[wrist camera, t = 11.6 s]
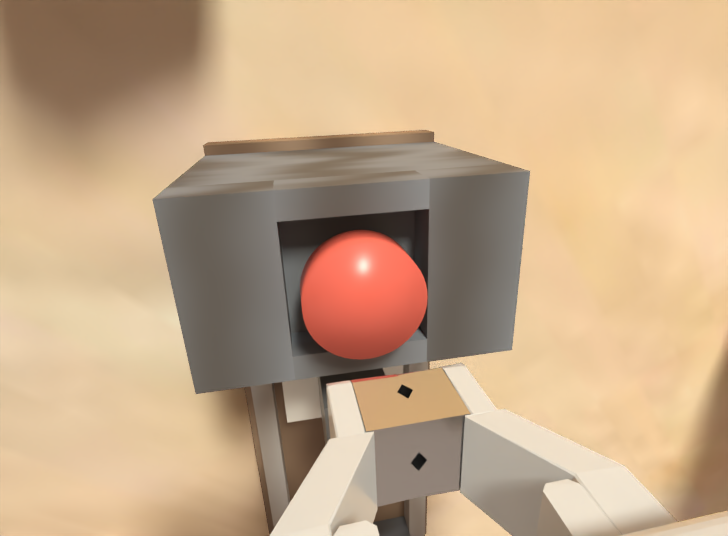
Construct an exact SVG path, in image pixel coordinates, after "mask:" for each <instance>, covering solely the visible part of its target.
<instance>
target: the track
mask: <svg viewBox="0 0 728 536" xmlns="http://www.w3.org/2000/svg"><path fill="white" fill-rule="evenodd" d="M203 147H204V153H205V156H204V157H203V158H202V159H201V160H199V161H198V162H197V163H196V164H195V165H193V166H192V167H191V168H190V169H189V170H187V171H186V172H185V173H184V174H182V175H181V176H180V177H179V178H178V179H176V180H175V181H174V182H173V183H172V184H170V185H169V186H168V187H167V188H166V189H164V190H163V191H162V192H161V193H160V194H158V195H157V196H156V197H155V198H154V199H153V204H154V208H155V213H156V217H157V222H158V226H159V231H160V235H161V240H162V244H163V249H164V253H165V258H166V262H167V267H168V271H169V276H170V280H171V285H172V289H173V294H174V298H175V303H176V307H177V312H178V316H179V321H180V325H181V329H182V334H183V338H184V343H185V347H186V352H187V356H188V361H189V365H190V370H191V374H192V379H193V383H194V388H195V392H196V394H199V393H206V392H214V391H221V390H228V389H235V388H242V387H245V393H246V399H247V405H248V411H249V416H250V422H251V428H252V434H253V440H254V446H255V452H256V457H257V463H258V469H259V475H260V481H261V487H262V493H263V498H264V504H265V510H266V516H267V522H268V528H269V533H270V534H271V533H272V531H273V529H274V528H275V526H276V524H277V523H278V521H279V520H280V518H281V516H282V515H283V513H284V511H285V510H286V508H287V507H288V505H289V503H290V502H291V500H292V498H293V497H294V495H295V494H296V492H297V490H298V489H299V487H300V486H301V484H302V482H303V481H304V479H305V477H306V476H307V474H308V473H309V471H310V469H311V468H312V466H313V464H314V463H315V461H316V460H317V458H318V456H319V455H320V453H321V451H322V450H323V448H324V447H325V438H324V431H323V423H322V417H321V418H315V419H308V420H301V421H295V422H288V423H287V416H286V409H285V401H284V394H283V386H282V382H285V381H292V380H300V379H307V378H314V377H321V376H328V375H336V374H343V373H350V372H357V371H364V370H371V369H379V368H386V367H393V366H400V365H403V374H404V373H410V372H416V371H422V370H429V362H430V361H436V360H443V359H450V358H458V357H465V356H472V355H479V354H486V353H493V352H501V351H508V350H512V343H513V334H514V324H515V314H516V304H517V294H518V284H519V274H520V264H521V255H522V245H523V235H524V225H525V215H526V205H527V195H528V186H529V176H530V171H528V170H524V169H521V168H518V167H514V166H511V165H508V164H505V163H501V162H498V161H495V160H492V159H488V158H485V157H482V156H479V155H475V154H472V153H469V152H466V151H462V150H459V149H456V148H452V147H449V146H446V145H443V144H439V143H436V142H434V132H431V131H427V130H419V131H402V132H384V133H367V134H349V135H332V136H314V137H297V138H279V139H262V140H244V141H227V142H209V143H206V144H205V145H203ZM353 230H370V231H375V232H379V233H382V234H384V235H386V236H388V237H390V238H392V239H393V240H395V241H396V242H397V243H398V244H399V245H400V246H401V247H402V248H403V249H404V250H405V251H406V253H407V254H408V255H409V256H410V258H411V259H412V260H413V261H414V262H415V264H416V265H417V266H418V268H419V269H420V271H421V273H422V275H423V277H424V279H425V282H426V287H427V296H428V299H427V307H426V311H425V314H424V317H423V320H422V322H421V324H420V326H419V327H418V329H417V330H416V331H415V333H414V334H413V335H412V336H411V337H410V338H409V339H408V340H407V341H406V342H405V343H404V344H403V345H401V346H400V347H398V348H397V349H395V350H393V351H392V352H390V353H387V354H385V355H382V356H379V357H375V358H370V359H349V358H344V357H340V356H337V355H335V354H332V353H330V352H329V351H327V350H325V349H324V348H322V347H321V346H320V345H319V344H318V343H317V342H316V341H315V340H314V339H313V338H312V336H311V335H310V333H309V332H308V330H307V328H306V325H305V322H304V319H303V314H302V305H301V296H300V279H301V275H302V271H303V268H304V266H305V264H306V262H307V260H308V258H309V257H310V256H311V254H312V253H313V252H314V250H316V249H317V248H318V247H319V246H320V245H321V244H322V243H323V242H325V241H326V240H328V239H330V238H331V237H333V236H335V235H338V234H340V233H343V232H347V231H353ZM426 514H427V496H423V497H417V498H413V499H409V500H405V501H400V502H396V503H392V504H387V505H383V506H379V507H377V512H376V515H375V519H374V522H373V524H374V525H376V526H377V528H378V532H379V536H425V534H426Z"/></svg>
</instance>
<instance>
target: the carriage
mask: <svg viewBox="0 0 728 536" xmlns="http://www.w3.org/2000/svg"><path fill="white" fill-rule="evenodd" d="M394 374H396V375H397V374H403V365H400V366H393V367H386V368H379V369H371V370H364V371H357V372H350V373H343V374H336V375H328V376H321V377H314V378H307V379H300V380H292V381H285V382H282V386H283V394H284V401H285V409H286V416H287V423H288V422H295V421H301V420H308V419H315V418H321V417H322V423H323V431H324V438H325V445H326V443H327V442H328V440H329V439H331V438H330V429H329V417H328V405H327V393H326V384H328V383H335V382H341V381H348V380H349V381H351V380H355V379H363V378H371V377H379V376H386V375H394Z"/></svg>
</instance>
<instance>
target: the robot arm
mask: <svg viewBox="0 0 728 536" xmlns="http://www.w3.org/2000/svg"><path fill="white" fill-rule="evenodd" d="M326 393H327V405H328V417H329V429H330V438H331V439H329V440H328V442H327V443H326V445H325V447H324V448H323V450H322V451H321V453H320V455H319V456H318V458H317V460H316V461H315V463H314V464H313V466H312V468H311V469H310V471H309V473H308V474H307V476H306V477H305V479H304V481H303V482H302V484H301V486H300V487H299V489H298V490H297V492H296V494H295V495H294V497H293V498H292V500H291V502H290V503H289V505H288V507H287V508H286V510H285V511H284V513H283V515H282V516H281V518H280V520H279V521H278V523H277V524H276V526H275V528H274V529H273V531H272V533H271V534H270V536H379V532H378V528H377V526H376V525H374V524H373V522H374V519H375V515H376V512H377V507H379V506H383V505H387V504H392V503H396V502H400V501H405V500H409V499H413V498H417V497H423V496H429V495H435V494H441V493H447V492H452V491H458V490H460V493H462V494H463V495H464V496H465V497H466V498H468V499H469V500H470V501H471V502H472V503H474V504H475V505H476V506H477V507H478V508H480V509H481V510H482V511H483V512H484V513H486V514H487V515H488V516H489V517H490V518H492V519H493V520H494V521H495V522H496V523H498V524H499V525H500V526H501V527H503V528H504V529H505V530H506V531H507V532H509V533H510V534H511V535H512V536H728V510H727V511H722V512H718V513H714V514H709V515H705V516H701V517H697V518H692V519H688V520H684V521H680V522H677V520H676V519H675V518H674V517H673V516H672V515H671V514H670V513H669V512H668V511H667V510H666V509H665V508H664V507H663V506H662V505H661V504H660V503H659V502H658V501H657V500H656V498H655V497H654V496H653V495H652V494H651V493H650V492H649V491H648V490H647V489H646V488H645V487H644V486H643V485H642V484H641V483H640V482H639V481H638V480H637V479H636V477H635V476H634V475H633V474H632V473H631V472H630V471H629V470H628V469H627V468H626V467H625V466H624V465H622V464H620V463H617V462H615V461H613V460H611V459H609V458H607V457H605V456H603V455H601V454H598V453H596V452H594V451H592V450H590V449H588V448H586V447H584V446H582V445H580V444H577V443H575V442H573V441H571V440H569V439H567V438H565V437H563V436H561V435H559V434H556V433H554V432H552V431H550V430H548V429H546V428H544V427H542V426H540V425H537V424H535V423H533V422H531V421H529V420H527V419H525V418H523V417H521V416H519V415H516V414H514V413H512V412H510V411H508V410H506V409H500V410H498V409H497V408H496V407H495V405H494V404H493V403H492V401H491V400H490V399H489V397H488V396H487V395H486V393H485V392H484V390H483V389H482V388H481V386H480V385H479V384H478V382H477V381H476V380H475V378H474V377H473V375H472V374H471V373H470V371H469V370H468V369H467V367H466V366H465V365H464V364H462V363H459V364H453V365H448V366H442V367H439V368H435V369H429V370H422V371H416V372H410V373H404V374H397V375H396V374H394V375H386V376H379V377H371V378H363V379H355V380H351V381H349V380H348V381H341V382H335V383H328V384H326Z"/></svg>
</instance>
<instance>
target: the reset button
mask: <svg viewBox="0 0 728 536" xmlns="http://www.w3.org/2000/svg"><path fill="white" fill-rule="evenodd" d="M300 296H301V305H302V314H303V319H304V322H305V325H306V328H307V330H308V332H309V333H310V335H311V336H312V338H313V339H314V340H315V341H316V342H317V343H318V344H319V345H320V346H321V347H322V348H324V349H325V350H327V351H329V352H330V353H332V354H335V355H337V356H340V357H344V358H349V359H370V358H375V357H379V356H382V355H385V354H387V353H390V352H392V351H393V350H395V349H397V348H398V347H400V346H401V345H403V344H404V343H405V342H406V341H407V340H408V339H409V338H410V337H411V336H412V335H413V334H414V333H415V331H416V330H417V329H418V327H419V326H420V324H421V322H422V320H423V317H424V314H425V311H426V307H427V299H428V296H427V287H426V282H425V279H424V277H423V275H422V273H421V271H420V269H419V268H418V266H417V265H416V264H415V262H414V261H413V260H412V259H411V258H410V256H409V255H408V254H407V253H406V251H405V250H404V249H403V248H402V247H401V246H400V245H399V244H398V243H397V242H396V241H395V240H393V239H392V238H390V237H388V236H386V235H384V234H382V233H379V232H375V231H370V230H353V231H347V232H343V233H340V234H338V235H335V236H333V237H331V238H330V239H328V240H326V241H325V242H323V243H322V244H321V245H320V246H319V247H318V248H317V249H316V250H314V252H313V253H312V254H311V256H310V257H309V258H308V260H307V262H306V264H305V266H304V268H303V271H302V275H301V279H300Z"/></svg>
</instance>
